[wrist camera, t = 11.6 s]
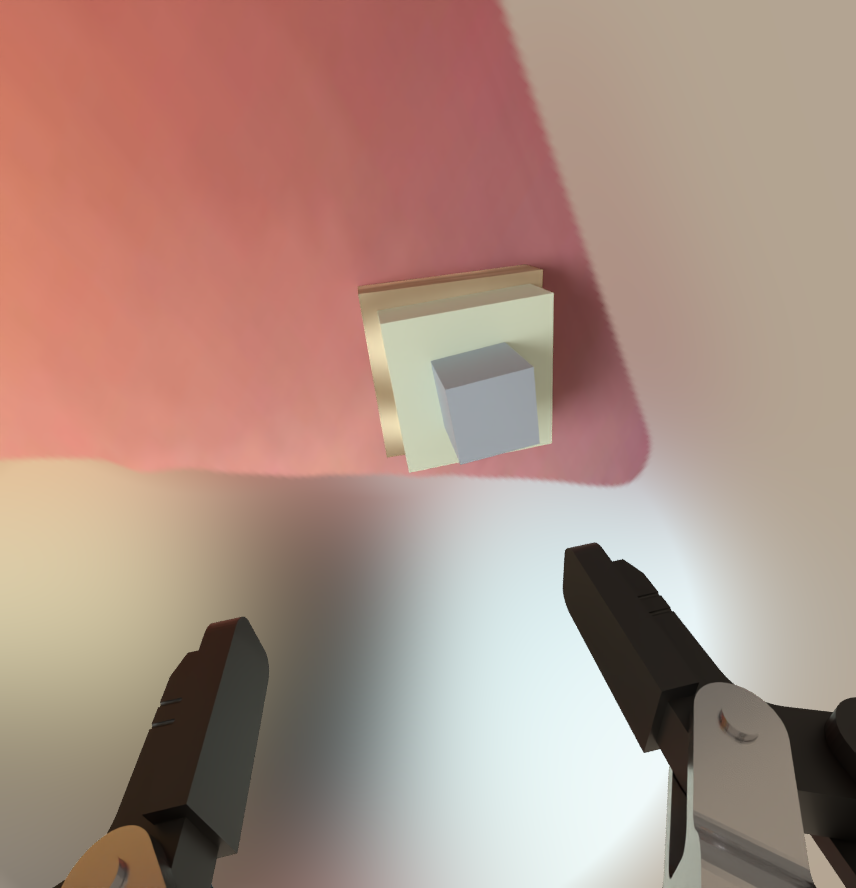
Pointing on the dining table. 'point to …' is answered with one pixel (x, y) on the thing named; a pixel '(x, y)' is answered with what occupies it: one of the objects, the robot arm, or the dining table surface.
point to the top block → (453, 332)
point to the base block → (415, 293)
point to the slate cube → (487, 401)
